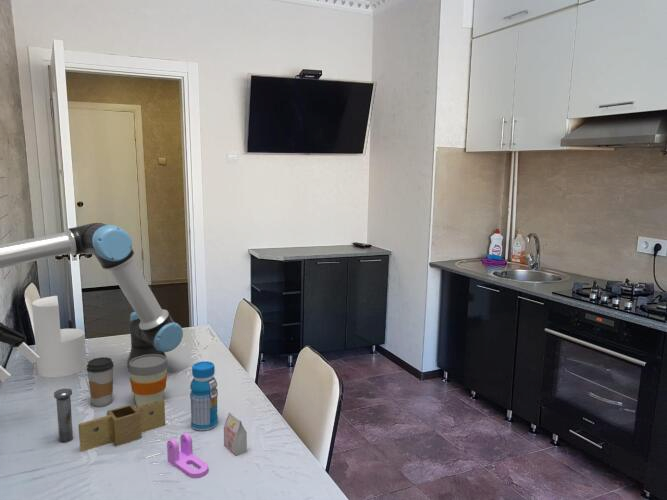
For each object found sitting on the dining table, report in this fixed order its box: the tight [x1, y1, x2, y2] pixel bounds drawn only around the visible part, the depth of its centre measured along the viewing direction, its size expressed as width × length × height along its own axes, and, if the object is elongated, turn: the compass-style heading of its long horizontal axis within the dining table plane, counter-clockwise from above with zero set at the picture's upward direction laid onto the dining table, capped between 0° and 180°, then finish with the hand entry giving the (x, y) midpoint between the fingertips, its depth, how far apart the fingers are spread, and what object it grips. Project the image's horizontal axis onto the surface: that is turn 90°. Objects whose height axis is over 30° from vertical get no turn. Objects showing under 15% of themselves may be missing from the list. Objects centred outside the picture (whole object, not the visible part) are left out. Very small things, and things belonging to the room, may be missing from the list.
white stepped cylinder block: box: [31, 295, 88, 378], centre depth 196 cm, size 17×17×28 cm
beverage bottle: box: [189, 360, 219, 431], centre depth 156 cm, size 8×8×20 cm
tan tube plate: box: [78, 399, 166, 452], centre depth 149 cm, size 24×7×8 cm, turn 130°
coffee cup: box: [86, 356, 115, 408], centre depth 169 cm, size 8×8×15 cm
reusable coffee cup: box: [128, 354, 168, 407], centre depth 171 cm, size 13×13×15 cm
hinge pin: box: [53, 388, 74, 444], centre depth 146 cm, size 5×5×15 cm
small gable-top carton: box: [223, 412, 248, 457], centre depth 143 cm, size 4×7×10 cm, turn 40°
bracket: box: [166, 432, 209, 479], centre depth 135 cm, size 13×6×7 cm, turn 49°
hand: (22, 369), depth 143 cm, fingers open, 13 cm apart
